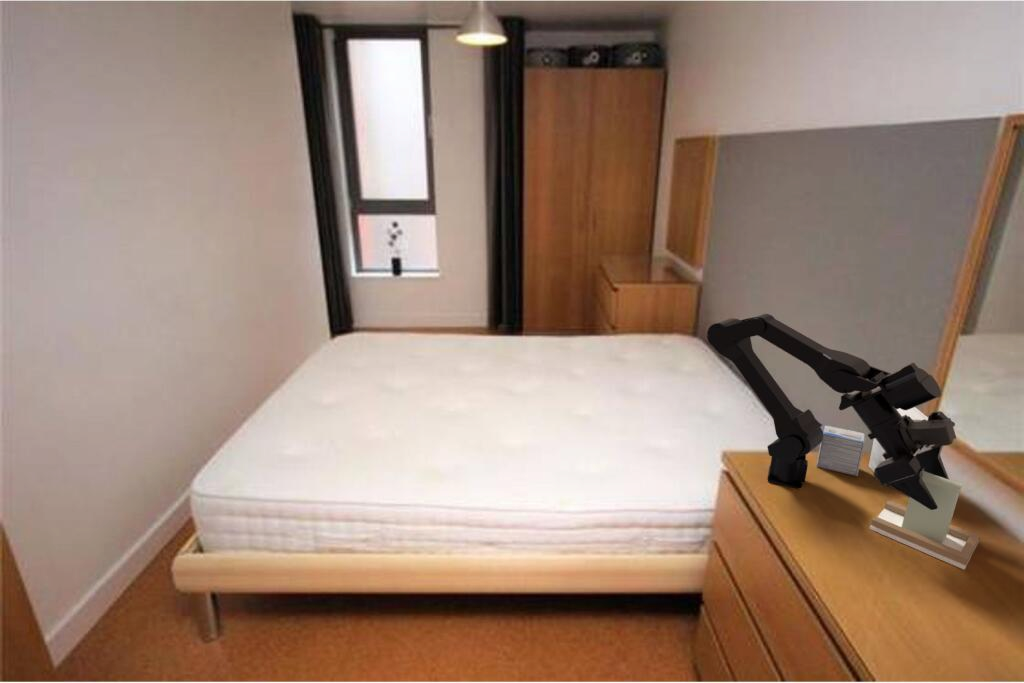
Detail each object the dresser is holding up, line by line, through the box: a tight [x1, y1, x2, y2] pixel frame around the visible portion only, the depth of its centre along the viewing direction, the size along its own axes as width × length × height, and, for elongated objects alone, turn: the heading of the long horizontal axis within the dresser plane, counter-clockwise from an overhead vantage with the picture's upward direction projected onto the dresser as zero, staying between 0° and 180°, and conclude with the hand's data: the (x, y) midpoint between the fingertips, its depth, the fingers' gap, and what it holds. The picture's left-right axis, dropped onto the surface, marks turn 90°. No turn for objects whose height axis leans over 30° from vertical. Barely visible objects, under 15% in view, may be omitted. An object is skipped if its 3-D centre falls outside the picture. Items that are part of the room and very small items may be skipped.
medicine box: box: [816, 425, 866, 477], centre depth 118 cm, size 8×4×9 cm, turn 58°
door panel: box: [902, 471, 963, 544], centre depth 95 cm, size 6×4×11 cm, turn 40°
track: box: [869, 500, 981, 571], centre depth 97 cm, size 14×10×2 cm
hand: (942, 498), depth 94 cm, fingers open, 9 cm apart
